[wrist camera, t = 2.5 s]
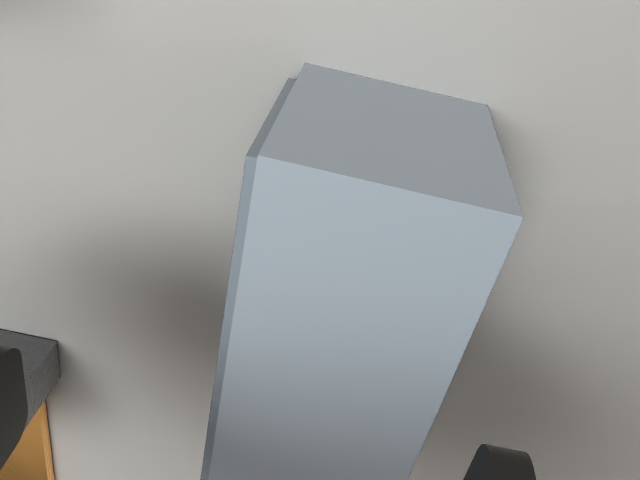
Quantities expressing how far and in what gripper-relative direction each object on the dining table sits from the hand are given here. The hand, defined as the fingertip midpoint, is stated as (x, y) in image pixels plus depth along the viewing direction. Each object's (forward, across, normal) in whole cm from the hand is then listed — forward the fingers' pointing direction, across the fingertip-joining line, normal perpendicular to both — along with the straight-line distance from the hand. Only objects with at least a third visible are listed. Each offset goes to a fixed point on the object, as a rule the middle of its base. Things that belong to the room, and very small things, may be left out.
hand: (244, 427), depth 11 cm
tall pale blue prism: (+6, -2, 0) cm, 6 cm away
